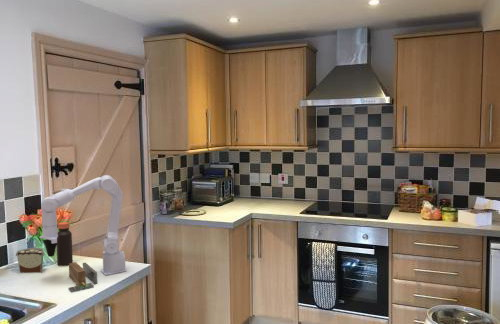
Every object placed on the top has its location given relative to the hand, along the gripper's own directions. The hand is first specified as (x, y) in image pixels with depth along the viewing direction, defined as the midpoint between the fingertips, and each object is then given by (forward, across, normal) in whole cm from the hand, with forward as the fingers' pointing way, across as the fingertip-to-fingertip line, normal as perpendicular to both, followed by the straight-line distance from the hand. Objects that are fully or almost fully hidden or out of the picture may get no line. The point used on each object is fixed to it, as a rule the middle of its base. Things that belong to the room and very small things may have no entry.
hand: (51, 256), depth 184 cm
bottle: (+11, -18, +10) cm, 23 cm away
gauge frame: (+10, +11, +8) cm, 17 cm away
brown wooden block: (+10, +11, +8) cm, 17 cm away
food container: (+11, -17, -4) cm, 20 cm away
